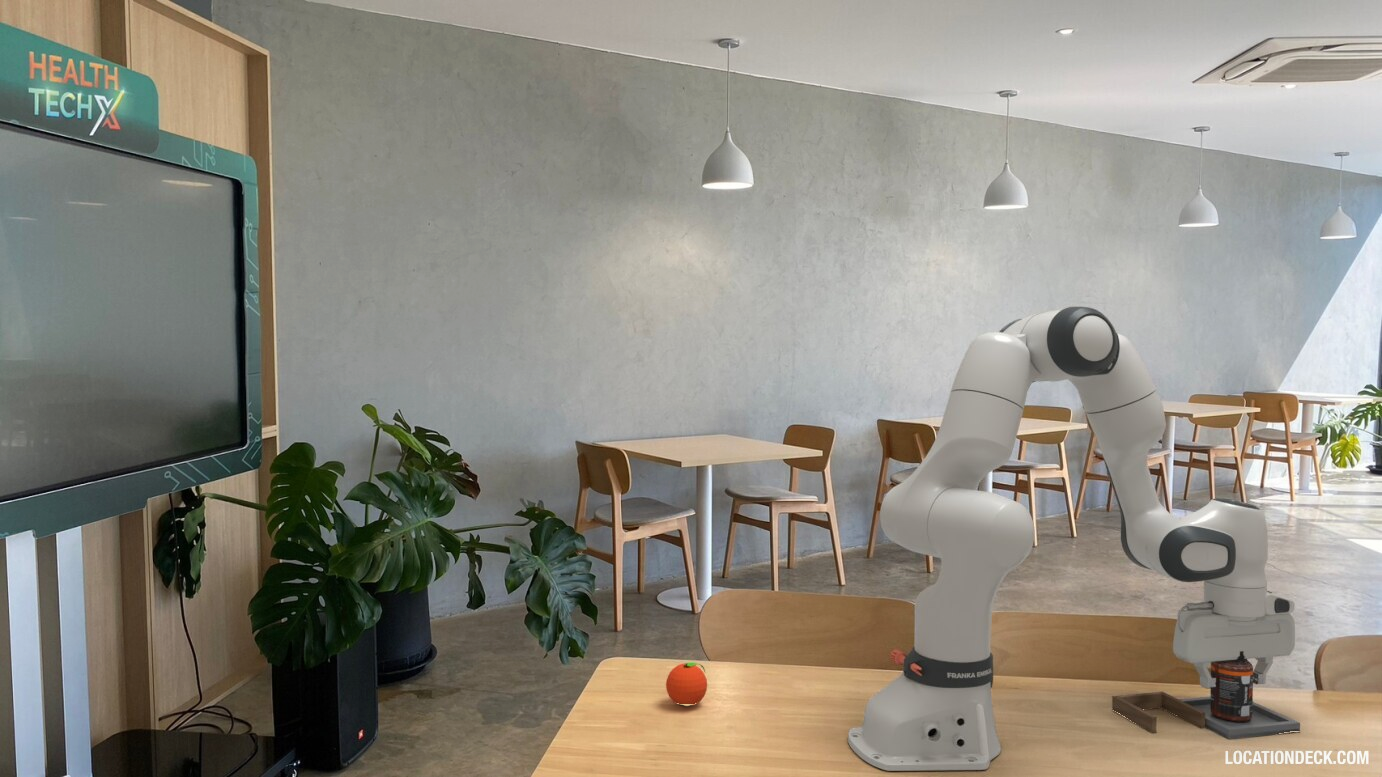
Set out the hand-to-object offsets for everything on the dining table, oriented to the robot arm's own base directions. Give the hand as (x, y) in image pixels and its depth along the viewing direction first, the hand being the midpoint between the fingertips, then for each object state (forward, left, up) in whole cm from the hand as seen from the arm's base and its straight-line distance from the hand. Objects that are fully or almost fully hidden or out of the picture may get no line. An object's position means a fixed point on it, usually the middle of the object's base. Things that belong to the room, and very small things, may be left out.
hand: (1232, 685), depth 154 cm
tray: (0, 0, -6) cm, 6 cm away
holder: (-11, +3, -6) cm, 13 cm away
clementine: (-84, +26, -6) cm, 88 cm away
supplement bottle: (0, 0, -5) cm, 5 cm away
